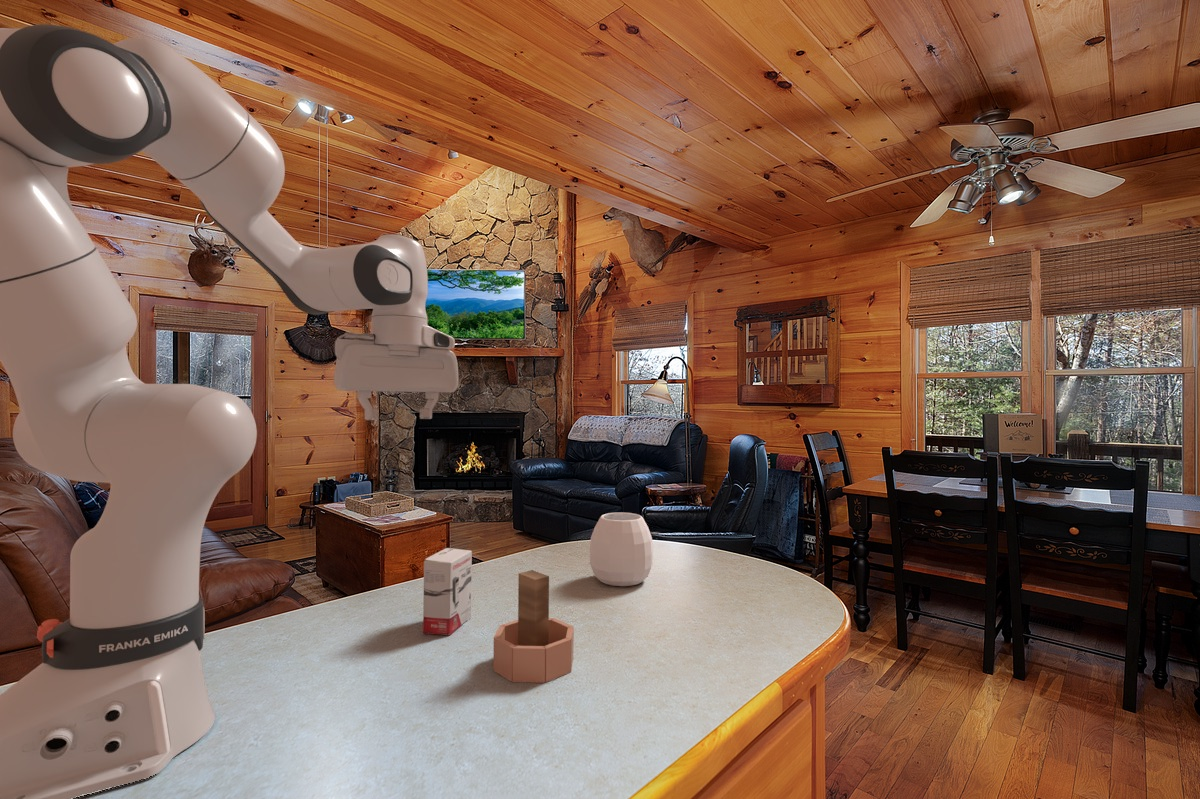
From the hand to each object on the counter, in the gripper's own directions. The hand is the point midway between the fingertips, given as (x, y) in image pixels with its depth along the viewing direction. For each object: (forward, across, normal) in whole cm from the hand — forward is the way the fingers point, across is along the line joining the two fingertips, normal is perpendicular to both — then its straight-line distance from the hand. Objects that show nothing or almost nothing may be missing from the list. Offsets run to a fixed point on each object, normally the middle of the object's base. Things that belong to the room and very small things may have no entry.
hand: (399, 419), depth 96 cm
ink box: (+34, +6, -6) cm, 35 cm away
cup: (+34, +44, -9) cm, 56 cm away
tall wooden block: (+34, +8, -27) cm, 44 cm away
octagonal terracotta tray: (+34, +8, -27) cm, 44 cm away
